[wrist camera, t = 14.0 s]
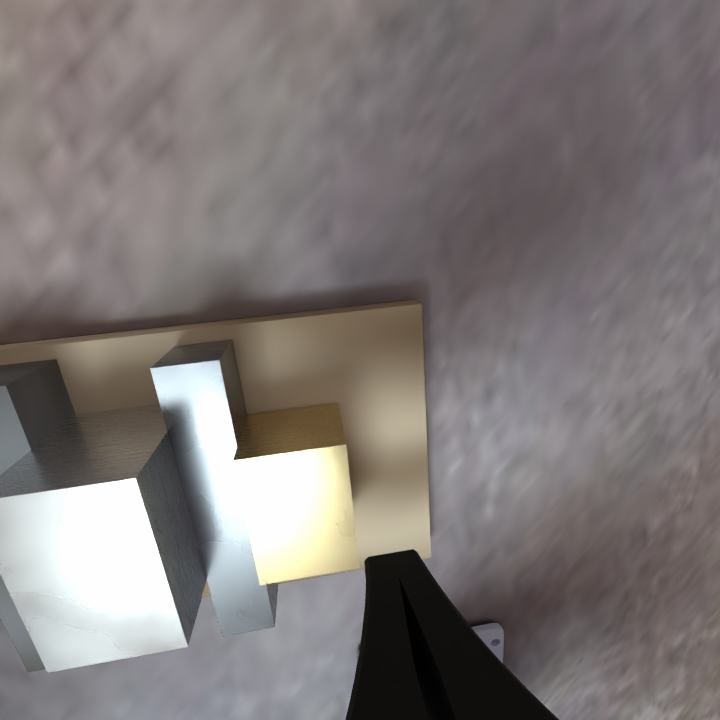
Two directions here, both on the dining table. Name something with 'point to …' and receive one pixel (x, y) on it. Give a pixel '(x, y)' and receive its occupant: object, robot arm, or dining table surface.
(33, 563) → the steel block
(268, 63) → the dining table surface
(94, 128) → the dining table surface
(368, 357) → the vise
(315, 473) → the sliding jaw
